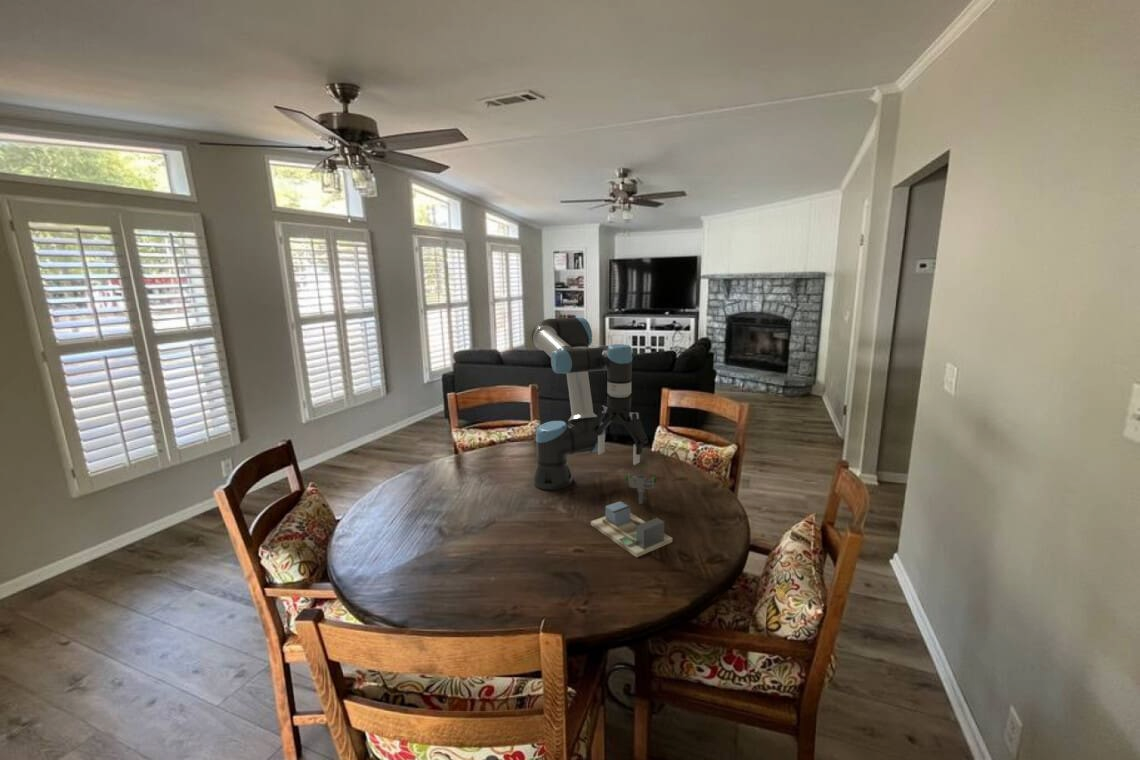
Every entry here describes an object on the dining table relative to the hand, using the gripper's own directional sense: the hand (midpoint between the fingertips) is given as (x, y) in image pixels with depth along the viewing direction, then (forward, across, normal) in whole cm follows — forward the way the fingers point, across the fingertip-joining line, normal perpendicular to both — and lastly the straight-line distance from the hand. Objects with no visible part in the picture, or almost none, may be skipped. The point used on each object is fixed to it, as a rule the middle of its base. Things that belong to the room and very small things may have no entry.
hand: (618, 458), depth 151 cm
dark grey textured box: (+19, +18, -10) cm, 28 cm away
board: (+20, +9, -7) cm, 23 cm away
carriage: (+19, +4, -5) cm, 20 cm away
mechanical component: (+20, +2, +12) cm, 24 cm away
